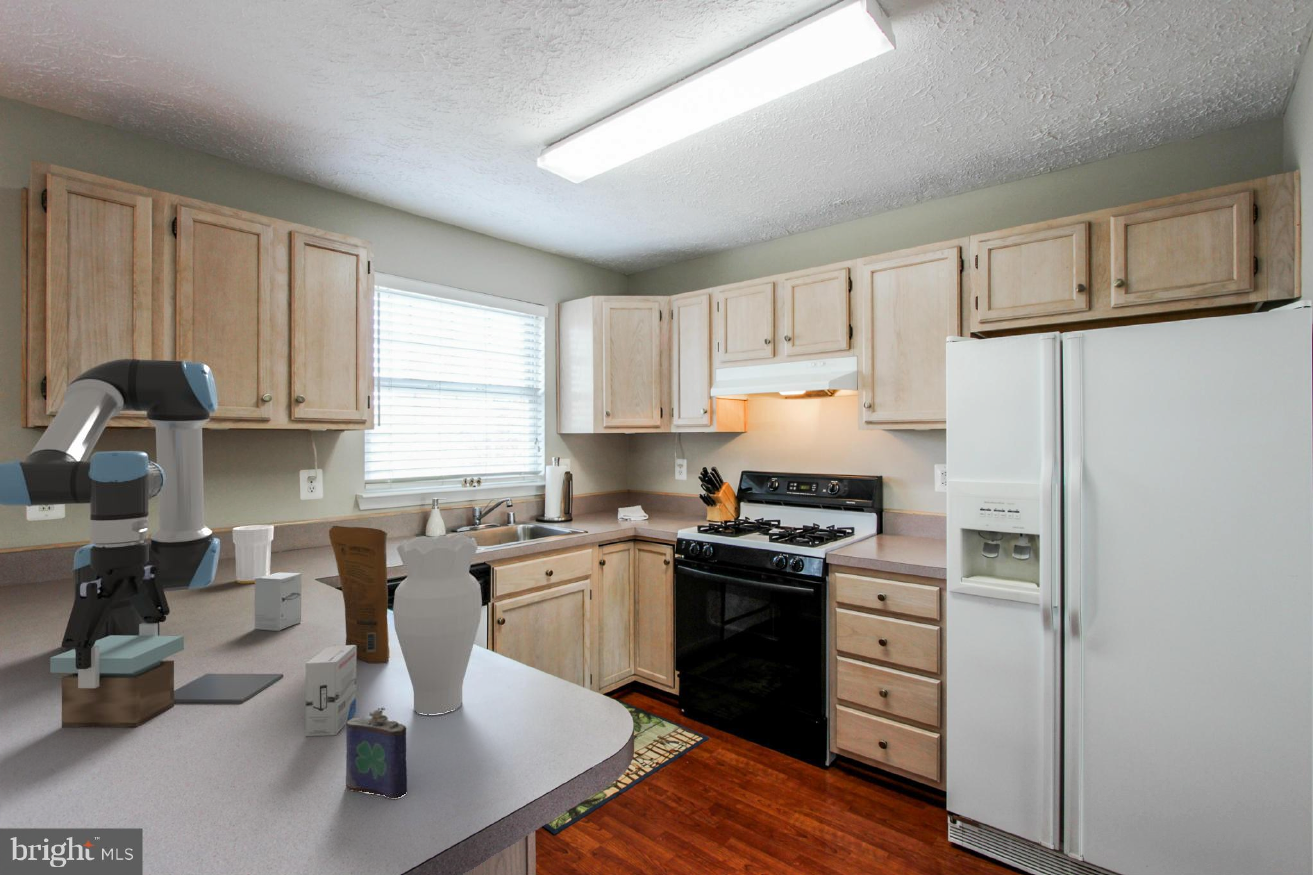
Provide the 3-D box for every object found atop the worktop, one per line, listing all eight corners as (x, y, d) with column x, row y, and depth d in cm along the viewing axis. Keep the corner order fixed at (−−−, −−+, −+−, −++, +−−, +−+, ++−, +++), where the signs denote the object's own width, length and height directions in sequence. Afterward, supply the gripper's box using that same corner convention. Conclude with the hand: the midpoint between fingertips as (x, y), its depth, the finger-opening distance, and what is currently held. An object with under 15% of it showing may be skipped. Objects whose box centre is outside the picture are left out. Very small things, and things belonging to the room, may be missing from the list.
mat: (157, 702, 111) (157, 699, 111) (206, 676, 123) (206, 673, 123) (242, 702, 111) (242, 699, 111) (283, 676, 123) (283, 673, 123)
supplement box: (279, 631, 152) (279, 579, 152) (253, 629, 153) (253, 577, 153) (302, 622, 159) (302, 572, 159) (277, 620, 160) (277, 571, 160)
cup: (280, 579, 207) (280, 526, 207) (242, 586, 197) (243, 530, 197) (262, 575, 213) (263, 523, 213) (225, 581, 203) (225, 527, 203)
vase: (414, 688, 117) (414, 533, 117) (492, 689, 117) (492, 533, 117) (376, 724, 103) (377, 547, 103) (465, 726, 102) (466, 547, 102)
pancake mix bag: (371, 670, 127) (371, 531, 126) (325, 651, 138) (325, 523, 138) (402, 660, 132) (402, 527, 132) (355, 642, 143) (355, 520, 143)
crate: (61, 727, 102) (61, 677, 102) (105, 705, 110) (105, 660, 110) (135, 727, 102) (135, 678, 102) (173, 706, 110) (174, 660, 110)
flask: (341, 789, 84) (341, 709, 84) (357, 778, 87) (358, 700, 87) (398, 802, 81) (398, 719, 81) (413, 790, 84) (414, 709, 84)
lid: (50, 687, 100) (50, 657, 100) (110, 662, 111) (110, 635, 111) (131, 688, 100) (131, 658, 100) (183, 662, 111) (183, 635, 111)
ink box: (327, 713, 107) (327, 644, 107) (357, 712, 107) (357, 643, 107) (303, 737, 98) (303, 662, 98) (336, 736, 99) (336, 661, 99)
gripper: (77, 557, 94) (78, 703, 94) (194, 531, 117) (194, 649, 117) (27, 556, 94) (28, 702, 94) (154, 531, 117) (154, 648, 117)
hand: (120, 673), depth 106 cm, fingers closed on lid, 11 cm apart
